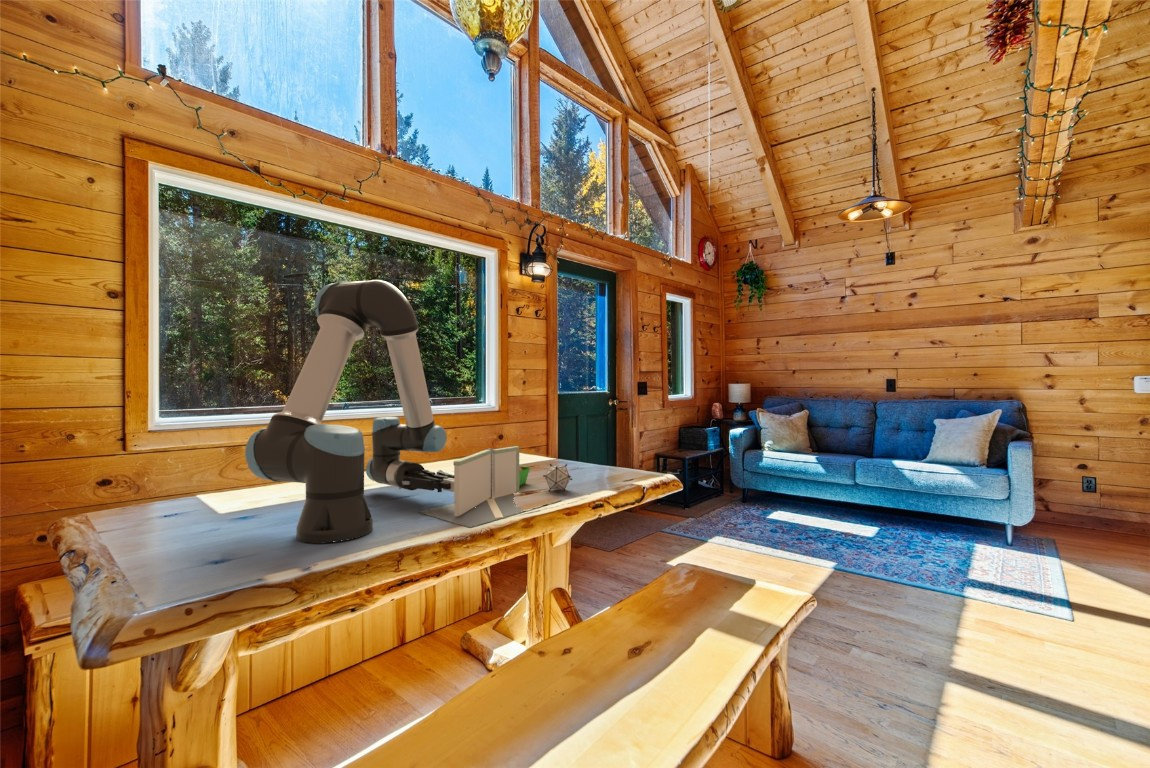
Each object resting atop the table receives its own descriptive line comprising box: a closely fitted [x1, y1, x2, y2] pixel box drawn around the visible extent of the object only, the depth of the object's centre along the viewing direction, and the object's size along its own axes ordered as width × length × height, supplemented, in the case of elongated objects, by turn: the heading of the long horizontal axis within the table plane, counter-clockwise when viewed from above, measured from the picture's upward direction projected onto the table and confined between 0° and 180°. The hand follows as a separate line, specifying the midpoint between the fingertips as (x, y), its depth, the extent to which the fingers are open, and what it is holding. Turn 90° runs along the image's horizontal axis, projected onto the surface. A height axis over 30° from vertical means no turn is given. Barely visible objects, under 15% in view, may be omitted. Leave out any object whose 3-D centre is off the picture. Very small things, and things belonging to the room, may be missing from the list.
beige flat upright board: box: [453, 447, 493, 516], centre depth 134 cm, size 21×2×14 cm, turn 167°
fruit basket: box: [519, 465, 531, 487], centre depth 161 cm, size 11×9×11 cm
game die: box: [542, 463, 573, 492], centre depth 154 cm, size 9×8×10 cm
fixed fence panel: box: [492, 445, 520, 497], centre depth 148 cm, size 9×2×14 cm, turn 141°
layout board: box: [419, 492, 562, 529], centre depth 135 cm, size 32×20×1 cm, turn 141°
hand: (462, 487), depth 129 cm, fingers closed
